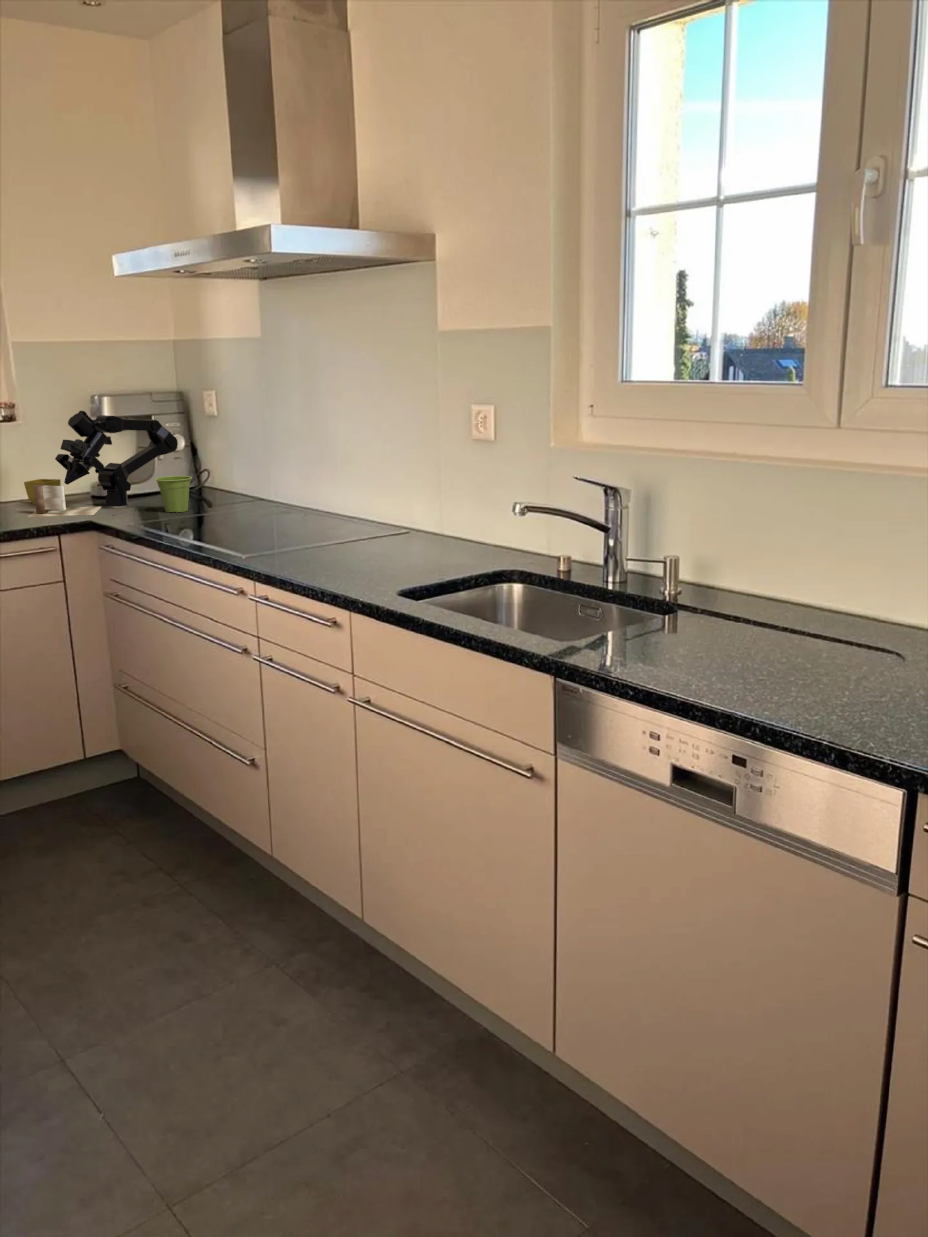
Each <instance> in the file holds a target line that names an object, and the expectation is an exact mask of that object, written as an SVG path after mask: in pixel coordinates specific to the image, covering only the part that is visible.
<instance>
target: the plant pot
mask: <svg viewBox="0 0 928 1237" xmlns="http://www.w3.org/2000/svg"><path fill="white" fill-rule="evenodd" d="M192 479H193V477H192V476H189V475H172V476H171V475H170V476H169V475H168V476H161V477H157V478H155V481H156V483H157V487H158V488H159V491H160V495H161V499H162V501H163V502H162V503H163V505H164V506H163V507H164V510H165V512H166V513H169V512H173V513H178V512H181V513H185V512H187V511H188V510H189V499H190V497H189V496H190V486H191V481H192Z"/></svg>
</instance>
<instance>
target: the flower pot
mask: <svg viewBox="0 0 928 1237" xmlns="http://www.w3.org/2000/svg"><path fill="white" fill-rule="evenodd" d="M23 484H24V488H25V491H26V496H27V497H28V499H29V501H30V503H31V504H33V505H35V498H34V489H33V486H35V485H45V486H62V483H61V479H59V478H58V479H56V478H54V479H53V478H50V479H49V478H37V479H33V480H28V481H23Z"/></svg>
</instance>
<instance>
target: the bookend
mask: <svg viewBox="0 0 928 1237" xmlns="http://www.w3.org/2000/svg"><path fill="white" fill-rule="evenodd" d="M33 489H34V498H35V504H34V505H35V511H36V513H48V511H50V510H66V508H67V506H66V497H65V488H64V486H63V485H61V486H45V485H35V486H33Z"/></svg>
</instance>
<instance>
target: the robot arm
mask: <svg viewBox="0 0 928 1237" xmlns="http://www.w3.org/2000/svg"><path fill="white" fill-rule="evenodd" d="M67 425H68V426H69V427H70V428H71V430H73V431H74V432H75V433H76V434H77V435H78V436H79V437H80V438H84V437H85V439H84V440H82V439H80V438H79V439H78V438H76V439H75V440H71V439H62V442H61V445H60V450H62V451H65V452H69V454H67V453H57V455H56V457H55V459H54V460H55V461H56V462H57V463H59V465H61V466H62V467H63V468H64V469H65V470H66V475H65V477H64V481H63V482H64V484H65V485H70V484H71V483H73V482H76V481H77V480H79V479H81V478H82V477H84V476H87V475H90V473H91V472H89V471H90V470H92V469H93V468H94V469H95V470H94V473H95V474H97V481H98V483H99V484H100V485H101V488H102V490H103V491H106V495H105V498H104V499H105V506H106V507H115V508H116V507H125V506H126V507H128V506H130V505H129V499H128V498H129V497H128V492H129V491H131V488H132V484H131V483H130V482H129V481H128V478H129V476H130V475H131V474H133V473H134V472H136V471H137V470H139V469H141V468H142V467H143V466H145V465H147V464H148V463H149V462H151V461H153V460H154V459H156V458H157V457H159V456H164V455H168V454H171V453H174V452H175V451H176V450H178V446H179V444H178V443H179V442H178V438H177V437H176V436H175V435H173V433H172V432H170V431H169V430H168V429H167V428H166V427H164V426H163V425H162V424H161V422H159V420H157V419H150V418H149V419H148V418H147V419H127V418H126V419H125V418H122V417H119V416H115V415H103V414H101V415H98V416H97V417H96V418H95V419H92V417H90V416H89V415H88V414H87V412H86V411H85V410H79V412H77V413H75V414H73V415H72V416H71V417H69V419H68V421H67ZM124 431H146V433H147V436H148V438H149V440H150V442H149V444H148V446H146V447H145V448H143V449H141V450H140V451H138V452H137V453H135V454H134V455H132V456H130V457H129V458H127V459H125V460H124V461H123V462H121V463H115V462H110V463H108V464H107V465H106V466H105V464H103V463H102V461H100V460H99V459H98V458H99V457H100V456H101V454H100V453H99V452H100V451H101V450H102V448H103V447H104V445H106V446H110V445H111V446H112V445H113V441H112V438H111V436H107V435H106V434H117V433H121V432H124Z"/></svg>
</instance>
